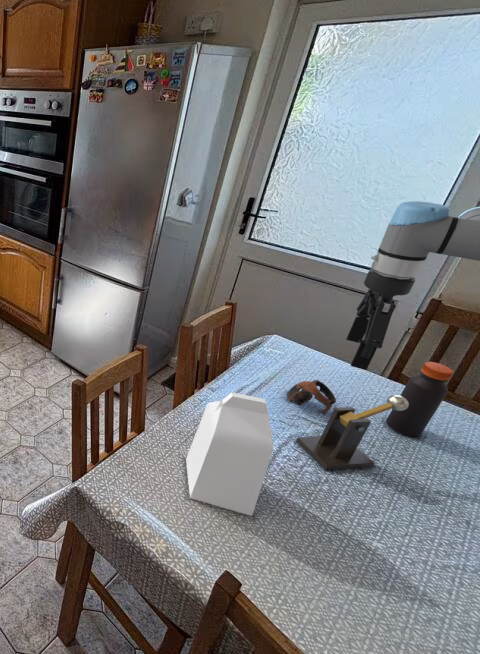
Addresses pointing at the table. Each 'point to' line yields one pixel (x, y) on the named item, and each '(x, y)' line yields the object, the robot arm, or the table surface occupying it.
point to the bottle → (421, 399)
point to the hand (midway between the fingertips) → (355, 353)
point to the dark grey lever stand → (338, 443)
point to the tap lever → (377, 409)
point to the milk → (230, 453)
